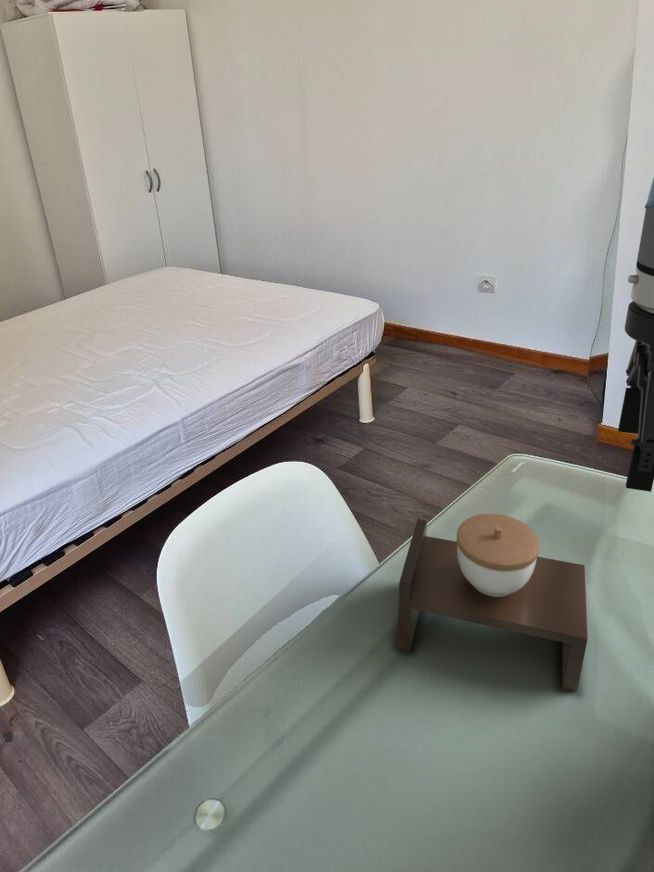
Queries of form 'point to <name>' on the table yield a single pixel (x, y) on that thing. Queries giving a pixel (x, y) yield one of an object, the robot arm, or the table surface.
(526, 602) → the shelf
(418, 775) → the table surface
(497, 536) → the trinket box
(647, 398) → the robot arm
